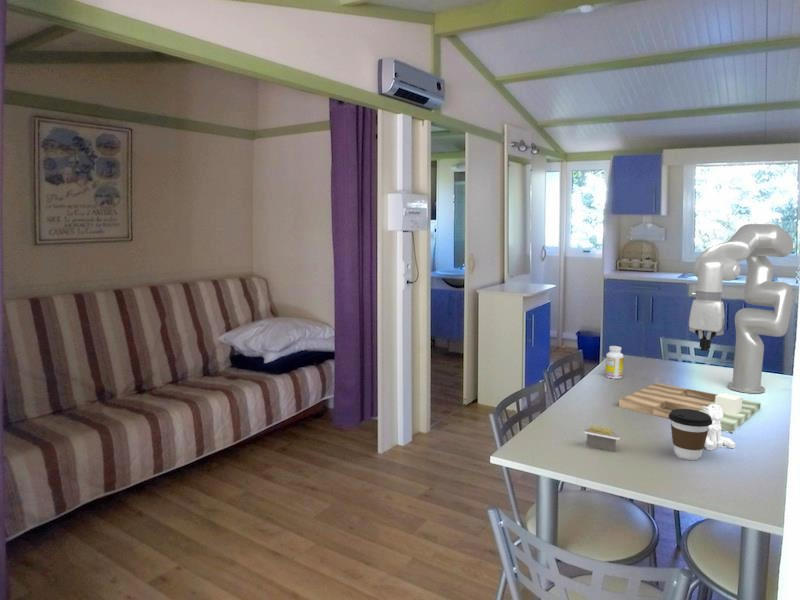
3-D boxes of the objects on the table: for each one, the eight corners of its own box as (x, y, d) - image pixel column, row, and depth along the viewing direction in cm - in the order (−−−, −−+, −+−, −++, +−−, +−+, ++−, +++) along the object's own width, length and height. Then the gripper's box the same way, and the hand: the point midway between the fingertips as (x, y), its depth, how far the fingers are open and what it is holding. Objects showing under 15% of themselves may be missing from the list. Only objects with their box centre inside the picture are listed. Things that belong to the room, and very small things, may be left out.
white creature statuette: (707, 451, 172) (711, 410, 170) (687, 440, 180) (690, 401, 178) (736, 449, 174) (740, 408, 172) (715, 438, 182) (718, 399, 180)
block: (722, 407, 204) (723, 392, 204) (741, 411, 200) (742, 396, 199) (714, 410, 200) (715, 395, 200) (733, 415, 196) (734, 400, 195)
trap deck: (655, 388, 234) (655, 382, 234) (760, 409, 210) (760, 402, 209) (618, 406, 212) (619, 399, 211) (731, 432, 187) (732, 425, 186)
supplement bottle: (620, 375, 254) (621, 345, 252) (624, 379, 247) (626, 348, 246) (603, 375, 255) (605, 345, 253) (607, 379, 248) (609, 348, 246)
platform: (576, 436, 184) (577, 415, 183) (638, 449, 174) (640, 427, 173) (563, 449, 174) (564, 427, 173) (629, 463, 164) (631, 440, 163)
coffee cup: (689, 466, 161) (692, 423, 159) (657, 451, 171) (660, 410, 169) (718, 460, 165) (722, 417, 164) (685, 446, 175) (688, 406, 174)
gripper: (681, 295, 206) (677, 348, 208) (729, 299, 195) (725, 355, 198) (689, 293, 211) (685, 345, 214) (736, 297, 201) (732, 352, 203)
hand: (704, 350), depth 206 cm, fingers closed
